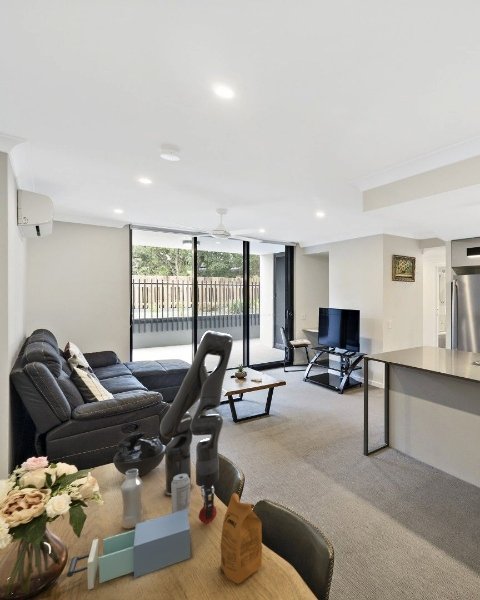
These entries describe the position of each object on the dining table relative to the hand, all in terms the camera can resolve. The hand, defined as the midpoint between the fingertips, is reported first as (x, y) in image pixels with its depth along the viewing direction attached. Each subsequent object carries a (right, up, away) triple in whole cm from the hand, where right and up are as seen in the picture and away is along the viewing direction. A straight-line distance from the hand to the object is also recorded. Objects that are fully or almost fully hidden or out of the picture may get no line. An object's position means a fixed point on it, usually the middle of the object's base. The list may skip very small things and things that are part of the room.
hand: (208, 513), depth 133 cm
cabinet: (-6, -4, -16) cm, 18 cm away
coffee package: (+22, -4, -21) cm, 31 cm away
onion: (0, -4, 0) cm, 4 cm away
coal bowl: (-51, -3, +36) cm, 62 cm away
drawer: (-17, -3, -24) cm, 29 cm away
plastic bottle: (-27, -4, -1) cm, 27 cm away
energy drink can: (-13, -4, +5) cm, 14 cm away
